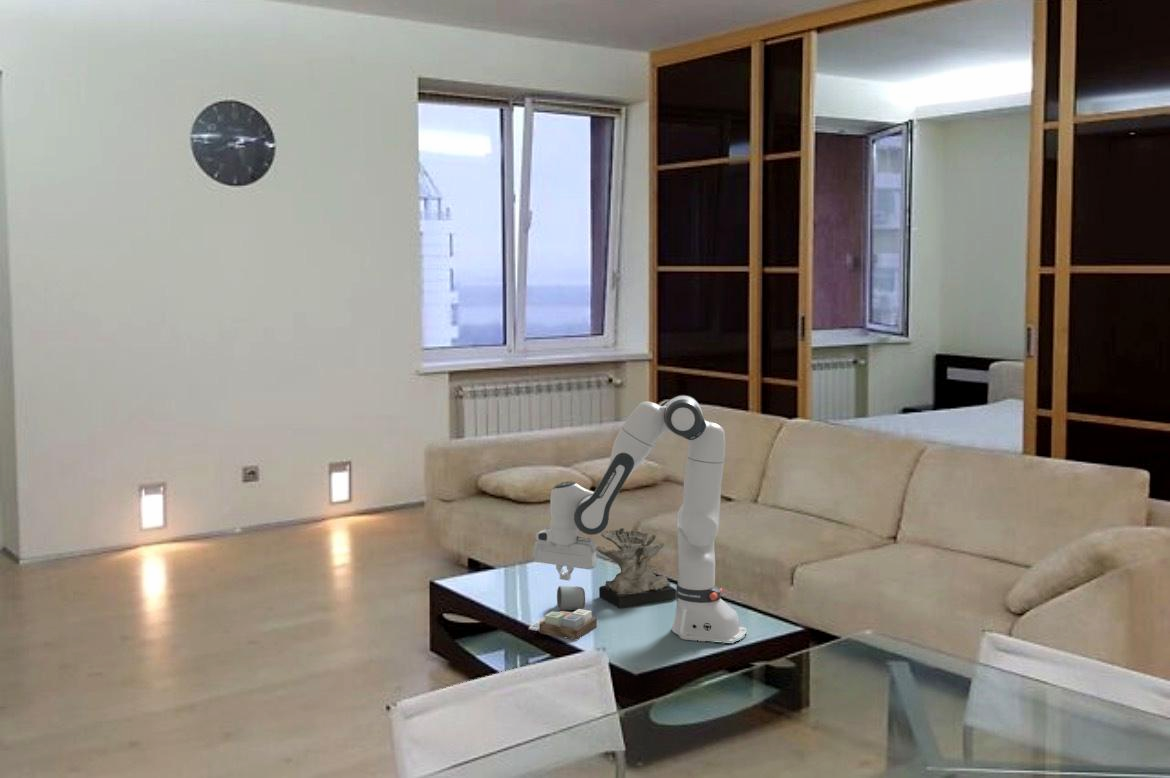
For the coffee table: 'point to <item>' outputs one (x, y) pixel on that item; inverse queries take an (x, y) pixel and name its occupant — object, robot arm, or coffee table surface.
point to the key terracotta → (566, 613)
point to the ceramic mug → (570, 598)
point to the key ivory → (583, 615)
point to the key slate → (572, 621)
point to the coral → (634, 571)
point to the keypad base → (568, 629)
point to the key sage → (554, 618)
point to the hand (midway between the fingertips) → (565, 579)
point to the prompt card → (536, 625)
